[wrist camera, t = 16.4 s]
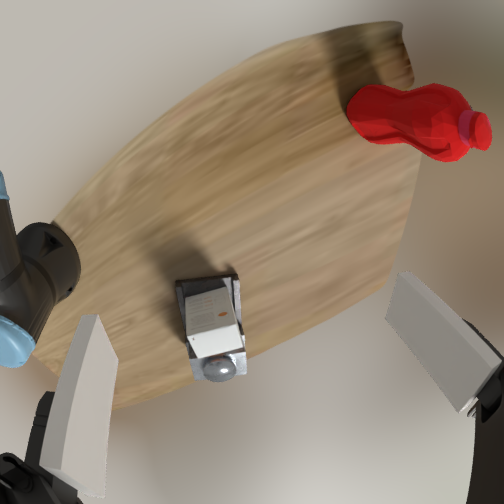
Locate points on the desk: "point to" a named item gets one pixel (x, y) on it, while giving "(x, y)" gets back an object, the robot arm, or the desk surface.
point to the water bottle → (420, 120)
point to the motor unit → (222, 363)
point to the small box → (212, 323)
